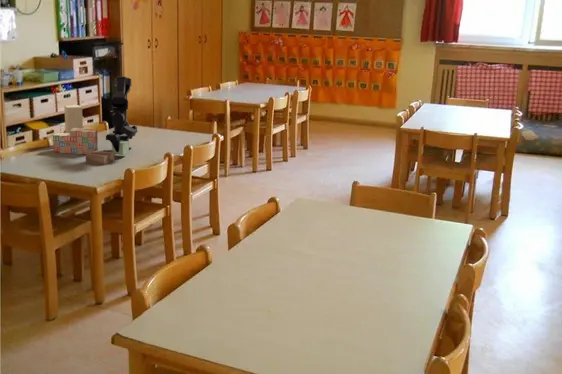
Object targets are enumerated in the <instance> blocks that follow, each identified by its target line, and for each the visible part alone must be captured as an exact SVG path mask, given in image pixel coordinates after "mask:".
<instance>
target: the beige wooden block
mask: <svg viewBox="0 0 562 374" xmlns="http://www.w3.org/2000/svg"><path fill="white" fill-rule="evenodd" d="M63 107H64V124H65V125H64V129H65V133H69V134H70V130H72V129H73V128H79V129H80V128H81V129H84V126H83V123H84V122H83V107H82V106H81V105H79V104H76V105H64V106H63Z"/></svg>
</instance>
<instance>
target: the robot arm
mask: <svg viewBox="0 0 562 374" xmlns="http://www.w3.org/2000/svg"><path fill="white" fill-rule="evenodd" d="M132 85H133V84H132V78H129V77H127V76H121V75H120V76H116V78H114V86H115V87H116V90H115V93H113V94H112V97H111V98H110V112H113V113H112V116H111V122H112V126H113V130H112V133H111V132H110V133H107V134H106V135H105V141H109V142H110V144H111V146H112V145H113V147H114V148H115V150H116V152H119V143H120V141H121V140H123V141H129V142H130V140H131V139H133V137H136V134H137V133H138V126H136V125H132V126H131V125H130V124H129V122H128V109H129V100H128V94H129V93H130V91H131V87H132ZM129 150H132V147H130V146H129Z"/></svg>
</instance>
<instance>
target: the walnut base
mask: <svg viewBox="0 0 562 374" xmlns="http://www.w3.org/2000/svg"><path fill="white" fill-rule="evenodd" d="M115 155H116V154H114V152H112V151H105V150H98V151H97V150H96V151H94V152H92V153H89V154H85V163H86V164H93V165H101V166H106V165H108V164H109V163H111V162H115V160H116V157H115Z"/></svg>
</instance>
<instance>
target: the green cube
mask: <svg viewBox="0 0 562 374" xmlns="http://www.w3.org/2000/svg"><path fill="white" fill-rule="evenodd" d="M129 147H130V140H129V141H123V140H121V141H120V143H119V152H116V150H115V148H114V147H113V145H112V144H111V149H112V151H111V152H114V154H115V155H119V156H120V155H121V156H124V155H126V154H129V151H130V149H129Z"/></svg>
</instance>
